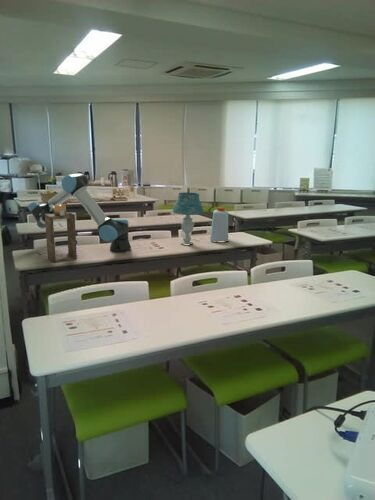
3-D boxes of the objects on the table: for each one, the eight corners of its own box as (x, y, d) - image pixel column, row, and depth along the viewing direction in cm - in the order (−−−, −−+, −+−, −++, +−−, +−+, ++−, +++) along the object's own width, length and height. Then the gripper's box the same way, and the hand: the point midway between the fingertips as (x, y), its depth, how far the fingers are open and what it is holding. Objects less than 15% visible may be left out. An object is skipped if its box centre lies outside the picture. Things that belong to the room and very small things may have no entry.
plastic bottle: (209, 242, 301) (211, 208, 293) (210, 238, 315) (212, 205, 308) (228, 243, 300) (230, 209, 292) (228, 239, 314) (230, 206, 306)
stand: (71, 254, 254) (69, 212, 246) (76, 258, 246) (74, 214, 238) (47, 258, 245) (44, 214, 236) (52, 262, 237) (49, 216, 229)
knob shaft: (56, 209, 252) (55, 200, 250) (67, 214, 235) (67, 205, 233) (46, 210, 248) (45, 201, 246) (56, 215, 231) (56, 206, 229)
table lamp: (207, 245, 291) (210, 195, 279) (182, 249, 278) (184, 196, 267) (190, 238, 310) (192, 191, 298) (166, 242, 297) (167, 192, 285)
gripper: (59, 221, 265) (68, 210, 246) (36, 223, 256) (43, 211, 237) (56, 211, 266) (65, 199, 247) (33, 213, 257) (41, 200, 238)
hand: (55, 205), depth 242 cm, fingers closed on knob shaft, 3 cm apart
